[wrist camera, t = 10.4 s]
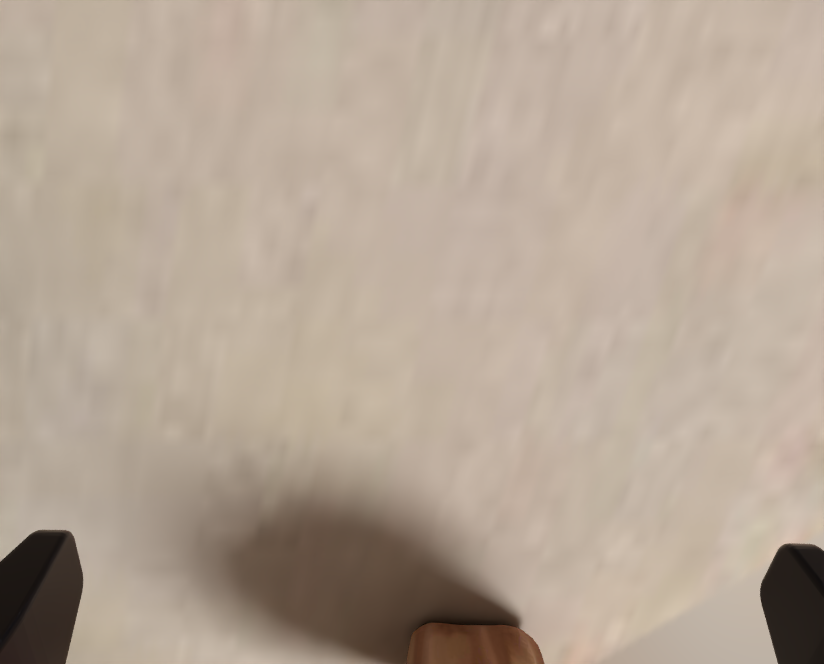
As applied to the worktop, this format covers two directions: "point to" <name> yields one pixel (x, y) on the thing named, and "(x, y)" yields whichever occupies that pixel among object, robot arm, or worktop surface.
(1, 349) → the worktop surface
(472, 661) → the cupcake
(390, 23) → the worktop surface
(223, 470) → the worktop surface
